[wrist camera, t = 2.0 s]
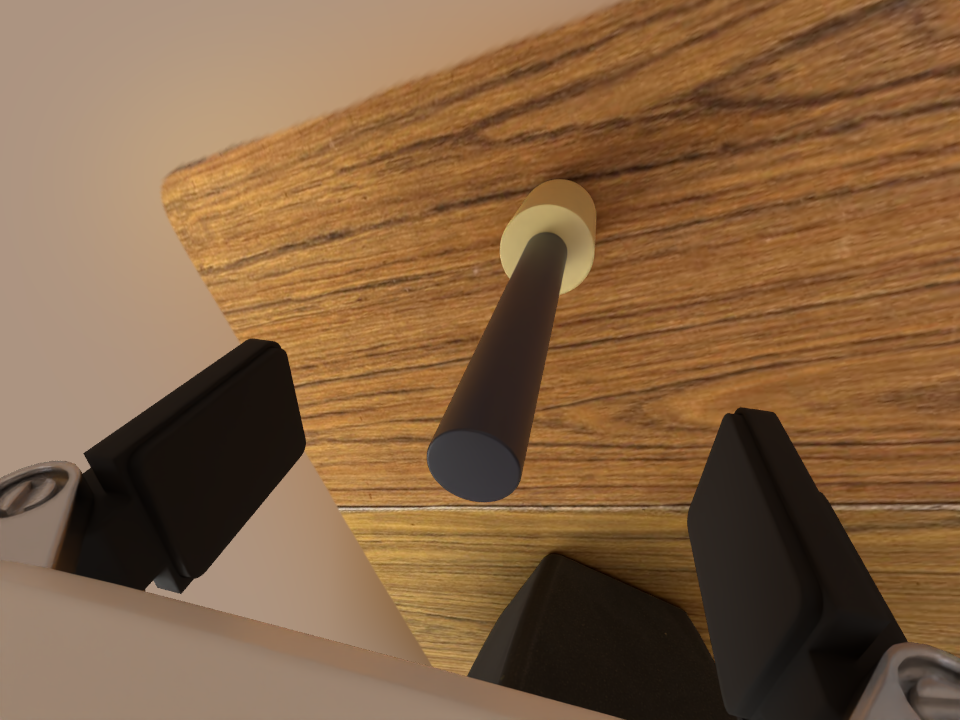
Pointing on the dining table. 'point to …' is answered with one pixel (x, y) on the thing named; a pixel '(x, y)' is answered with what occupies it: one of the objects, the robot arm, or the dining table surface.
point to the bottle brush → (514, 345)
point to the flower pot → (601, 648)
